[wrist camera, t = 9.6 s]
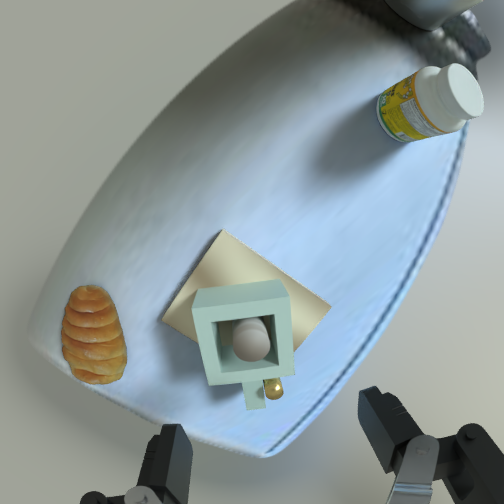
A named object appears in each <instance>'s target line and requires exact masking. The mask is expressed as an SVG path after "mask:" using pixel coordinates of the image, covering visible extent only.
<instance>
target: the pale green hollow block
mask: <svg viewBox="0 0 504 504" xmlns="http://www.w3.org/2000/svg"><path fill="white" fill-rule="evenodd" d="M191 309H192V314H193V319H194V324H195V328H196V333H197V338H198V342H199V347H200V351H201V355H202V360H203V364H204V368H205V372H206V376H207V380H208V384H209V386H212V385H223V384H233V383H242V386H243V392H244V397H245V403H246V408H247V410H255V409H263V408H266V405H265V398H264V390H263V382H262V380H265V379H272V378H278V377H284V376H290V375H295V370H294V351H293V334H292V319H291V305H290V296H289V294H288V292H287V290H286V289H285V287H284V285H283V284H282V282H281V280H280V279H273V280H265V281H258V282H250V283H243V284H235V285H227V286H218V287H210V288H202V289H198V290H197V293H196V296H195V299H194V302H193V305H192V308H191ZM264 315H269V318H270V328H271V338H272V340H269V341H270V350H269V352H268V354H267V355H266V356H265V357H264V358H263V359H261V360H259V361H255V362H247V361H243V360H241V359H239V358H238V357H237V356H236V355H235V353H234V350H233V345H226V346H222V343H221V337H220V332H219V326H218V321H225V320H234V319H242V318H250V317H257V316H264Z"/></svg>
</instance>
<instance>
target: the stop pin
mask: <svg viewBox="0 0 504 504" xmlns="http://www.w3.org/2000/svg"><path fill="white" fill-rule="evenodd" d="M263 383H264V389H265V394H266V397H267V398H268V399H271V400H276V399H279V398H280V397H282V395H283V388H282V384H281V381H280V377H278V378H272V379H265V380H263Z"/></svg>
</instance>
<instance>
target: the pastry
mask: <svg viewBox="0 0 504 504" xmlns="http://www.w3.org/2000/svg"><path fill="white" fill-rule="evenodd" d="M62 325H63V328H62V330H61V335H62V343H63V345H64V346H63V347H62V352H63V356H64V358H65V360H66V361H68V362H69V365H70V367H71V370H72V374H73V375H74V376H75V377H76V378H77V379H79V380H81V381H83V382H86V383H89V384H102V385H103V384H109V383H112V382H114V381H117V380H119V379H120V378H121V377H122V375H123V372H124V368H125V366H126V363H127V351H126V344H125V341H124V336H123V331H122V328H121V325H120V321H119V317H118V314H117V310H116V307H115V304H114V303H113V301H112V299H111V298H110V296H109V294H108V292H107V291H105V290H104V289H103V288H101V287H98V286H95V285H87V286H79V287H78V288H77V289H75V290H74V291H73V292H72V293H71V296H70V300H69V303H68V304H67V306H66V307H65V316H64V318H63V321H62Z"/></svg>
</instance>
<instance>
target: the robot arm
mask: <svg viewBox="0 0 504 504" xmlns="http://www.w3.org/2000/svg"><path fill="white" fill-rule="evenodd" d="M385 1H386V3H387V4H388V5H389V6H390V7H391V8H392V9H393V10H394V11H395V12H396V13H397V14H399V15H400V16H401V17H402V18H404V19H405V20H407V21H408V22H410V23H411V24H413V25H415V26H417V27H419V28H422V29H425V30H430V31H432V30H436V29H437V28H439V27H441V26H442V25H444V24H445V23H447V22H448V21H450V20H452V19H453V18H455V17H457V16H458V15H460V14H462V13H463V12H465V11H467V10H468V9H470V8H472V7H473V6H475V5H477V4H478V3H480V2H482V1H484V0H385ZM358 400H359V401H358V419H359V422H360V425H361V426H362V428H363V430H364V432H365V434H366V436H367V438H368V440H369V442H370V444H371V446H372V448H373V450H374V451H375V454H376V456H377V458H378V460H379V461H380V463H381V465H382V467H383V469H384V471H385V473H386V474H387V473H389V472H392V471H394V473H395V475H396V477H395V480H394V483H393V486H392V488H391V491H390V494H389V496H388V499H387V501H386V504H429V503H430V500H431V496H432V489H431V485H432V481H435V480H439V479H442V480H443V482H444V484H445V486H446V488H447V490H448V491H449V493H450V495H451V497H452V499H453V501H454V503H455V504H504V454H503V453H502V452H501V450H500V449H499V448H498V446H497V445H496V444H495V443H494V441H493V440H492V439H491V437H490V436H489V435H488V433H487V432H486V431H485V430H484V429H483V428H482V426H480V425H478V424H474V423H471V424H466V425H464V426H463V427H461V428H460V429H459V431H458V433H457V434H456V435H452V436H448V437H444V438H434V437H433V436H430V435H425V434H424V433H423V432H422V431H421V429H420V428H419V427H418V425H417V424H416V422H415V421H414V420H413V418H412V417H411V416H410V414H409V413H408V412H407V410H406V409H405V407H404V406H402V403H401V402H400V401H399V399H398V398H397V397H396V396H394V395H392V394H390V393H389V392H387V393H385V394H381V392H380V391H379V389H378V388H377V387H376V386H372V387H370V388H367V389H364V390H361V391H360V392H359V399H358ZM192 456H193V450H192V445H191V443H190V441H189V439H188V437H187V435H186V433H185V431H184V429H183V427H182V426H181V424H164V425H163V426H162V429H161V433H160V435H154V436H153V438H152V439H151V440H150V441H149V442H148V445H147V449H146V453H145V456H144V460H143V463H142V467H141V471H140V475H139V478H138V482H137V485H136V487H133V488H131V489H130V490H128V491H127V493H126V494H125V495H122V496H114V497H105V496H104V495H103V494H102V493H100V492H96V491H92V492H88V493H86V494H85V495H84V496H83V497H82V498H81V501H80V504H187V503H188V493H189V484H190V475H191V466H192Z"/></svg>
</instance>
